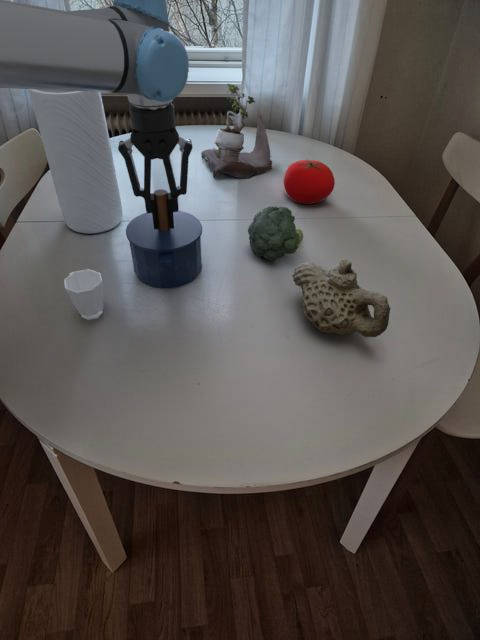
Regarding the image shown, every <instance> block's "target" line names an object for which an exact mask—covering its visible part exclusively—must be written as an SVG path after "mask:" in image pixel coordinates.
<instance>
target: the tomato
mask: <svg viewBox="0 0 480 640" xmlns="http://www.w3.org/2000/svg"><path fill="white" fill-rule="evenodd" d="M335 185H336V181H335V176H334V173H333V171H332V170H331V168H330V167H329V166H328V165H327V164H325V163H323V162H321V161H319V160H315V159H314V160H313V159H301V160H297V161H294V162H292V163H290V165H289V166H288V167H287V169H286V171H285V173H284V176H283V188H284V191H285V194H286V195H287V197H289V198H290V200H292V201H293V202H295V203H298V204H303V205H310V204H317V203H320V202H322V201H323V200H325V199H327V198H328V197H329V196H330V195H331V194H332V192H333V191H334V188H335Z"/></svg>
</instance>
